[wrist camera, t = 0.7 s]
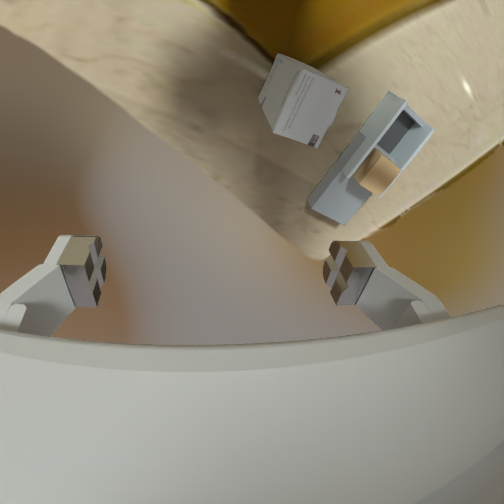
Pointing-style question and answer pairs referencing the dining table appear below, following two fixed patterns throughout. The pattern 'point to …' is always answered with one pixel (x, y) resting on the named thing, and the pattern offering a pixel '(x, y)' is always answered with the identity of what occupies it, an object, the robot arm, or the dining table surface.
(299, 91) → the skincare box
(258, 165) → the dining table surface
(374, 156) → the oak block
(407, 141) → the trap trough
